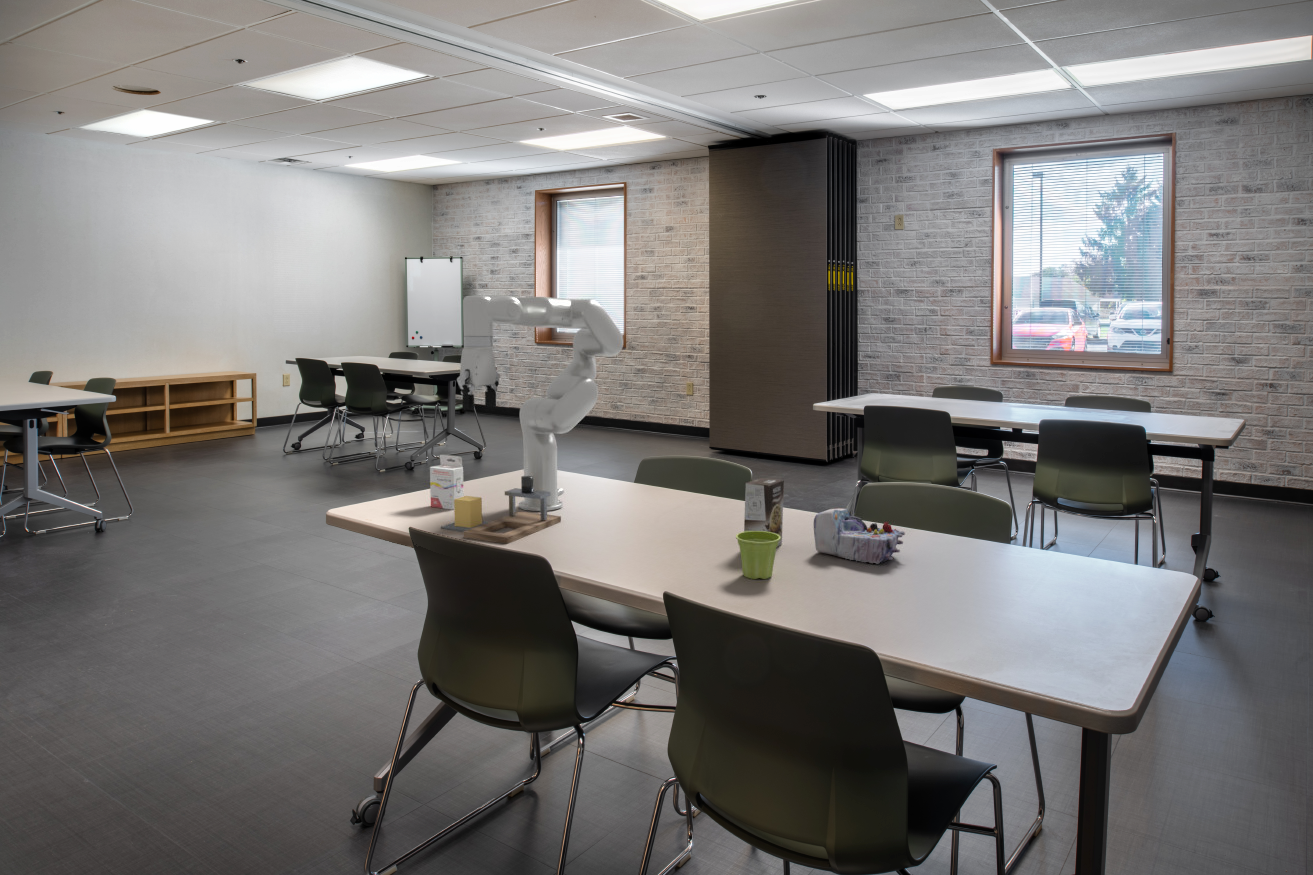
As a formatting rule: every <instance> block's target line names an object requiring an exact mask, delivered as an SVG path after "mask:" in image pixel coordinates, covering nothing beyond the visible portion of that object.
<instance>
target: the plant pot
mask: <svg viewBox="0 0 1313 875" xmlns="http://www.w3.org/2000/svg"><path fill="white" fill-rule="evenodd" d="M735 538H736V539H737V542H738V543H737V544H738V546H739V551H740V559H741V560H740V561H741V569H742V574H743V576H744V577H745V578H748V579H751V580H756V579H762V580H766V579H770V578H771V577H772V575H773V571H774V565H775V558H776V552H777V545H778V541H779V540H780V538H781V537H780V536H779V535H778V534H775V533H772V532H766V531H746V532H744V531H741V532H739V533H737V534H736V535H735Z"/></svg>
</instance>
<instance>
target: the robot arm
mask: <svg viewBox="0 0 1313 875" xmlns="http://www.w3.org/2000/svg"><path fill="white" fill-rule="evenodd" d="M462 309H463V310H462V316H463V317H462V318H463V320H462V321H463V348H462V351H461V357H460V367H459V368H460V369H459V370H460V372H459V376H458V377H457V378H456V382H457V384H458V388H459V390H460V394H461V395H462V410H466V411H474V409H475V394H473V393H474V390H475V388H477V387H479V388H480V387H484V388H485V389H486V391H485V392H484V401H485V402H484V403H485V404H484V405H485V406H486V407H492V408H493V407H496V406H497V391H498V386H499V384H500V378H501V375H500V373H499V372H497V371H496V360H495V358H496V357H495V351H494V325H513V326H523V327H529V328H549V329H550V328H551V329H552V328H553V329H575V330H576V329H579V330H577V332H576V333H575V334H574V335H573V336H574V337H573V340H572V351H573V355H572V361H571V362H570V363H569V364H568V366H566V368H565V369H564V370H562V371H561V372H560V373H559V374H558V375H557V376H556V377H555V378H553V380H552V381H551V382H550V384H549V385H548V386H547V389H546V397H540V396H539V397H537V396H536V397H531V398H529V399H526V400H525V401H524V402H523V403H522V404H521V406H520V408H519V422H520V427H521V431H522V440H523V442H522V443H523V476H533V477H534V490H537V491H546V492H551V496H548V497H547V512H548V511H555V510H558V509H561V508H563V506H564V503H563V501H562V500H560V499H559V497H560V496H562V495H564V493H565V492H564V489H563V488H558V446H557V444H558V443H557V440H556V436H555V434H561V435H562V434H566V433H569V432H570V431H571V430H572V429H574V427H576V425H578V423H580V422H581V421H582V420H583V419H584V418H585V417H586V416H587V415H588V414H589V412H591V411H592V409H593V408H594V407H595V406H596V404H597V401H598V398H599V387H598V385H597V383H596V382H595V379H596V377H597V362H596V357H609V358H610V357H615V356H617V355H618V354H620V352H621V351H622V349H623V347H624V337H623V335H622V332H621V331H620V329H619V327H618V326H617V324H616V323H615V322H614V320H613V319H612V318H611V316H610V315H609V314H608V312H607V311H606V310H605V309H604V307H603V306H602V305H601V304H600V303H599V302H598V301H596V300H594V299H590V298H586V299H583V298H581V299H579V298H574V299H573V298H561V297H559V298H558V297H551V296H550V297H549V296H528V297H527V296H525V297H514V296H511V295H507V294H506V295H504V294H503V295H499V294H497V295H466V296H465V297H464V298H463V301H462ZM523 499H524V500H521V501H519V503H518V508H519V509H521V510H525V511H531V512H532V511H533V512H540V499H534V498H525V497H523Z"/></svg>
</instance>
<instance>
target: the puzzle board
mask: <svg viewBox="0 0 1313 875" xmlns="http://www.w3.org/2000/svg"><path fill="white" fill-rule="evenodd" d="M488 522H489V523H486V524H483V525H481V526H478V527H475V528H472V529H470V530H467V531H462V532H463V538H464V539H471V540H477V541H478V540H479V541H485V542H493V543H501V544H510V543H513V542H515V541H518V540H520V539H522V538H525V537H528V536H530V535H532V534H534V533H536V532H540V531H542V530H545V529H547V528H549V527H551V526H553V525H557V524H559V523H561V522H562V516H560V515H554V514H547V520H541V513H536V512H527V511H517V512H516V516H509V515H507V516H506V515H505V516H503V517H500V518H498V519H495V520H492V521H488ZM503 528H510V529H512V530H510V531H506V532H504V533H499V532H495V531H498V530H501V529H503Z"/></svg>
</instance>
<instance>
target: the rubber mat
mask: <svg viewBox="0 0 1313 875" xmlns="http://www.w3.org/2000/svg"><path fill="white" fill-rule="evenodd" d="M489 522H490V521H486V520H482V524H480V525H477V526H474V527H472V528H475V527H478V526H481V525H483V524H486V523H489ZM472 528H468V527H460V526H455V521H453V522H451V523H448V524H445V525H442V526H440V529H443V530H451V531H458V532H464V531H467V530H470V529H472Z"/></svg>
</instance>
